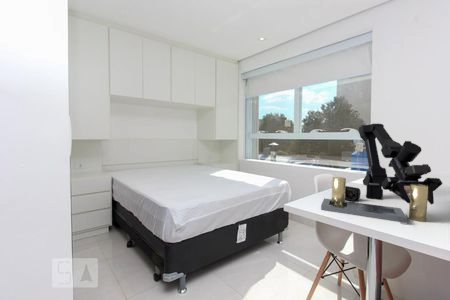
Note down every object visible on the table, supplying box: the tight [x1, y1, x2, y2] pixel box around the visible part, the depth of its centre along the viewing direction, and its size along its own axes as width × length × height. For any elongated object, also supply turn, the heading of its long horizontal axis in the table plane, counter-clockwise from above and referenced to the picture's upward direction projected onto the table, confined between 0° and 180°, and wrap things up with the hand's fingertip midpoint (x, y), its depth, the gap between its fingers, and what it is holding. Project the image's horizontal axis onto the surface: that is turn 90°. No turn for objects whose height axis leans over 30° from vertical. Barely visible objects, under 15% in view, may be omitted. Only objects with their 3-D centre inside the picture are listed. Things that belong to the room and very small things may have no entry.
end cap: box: [345, 185, 362, 202], centre depth 110 cm, size 10×7×7 cm
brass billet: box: [408, 184, 428, 223], centre depth 83 cm, size 5×5×13 cm
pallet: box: [320, 198, 408, 225], centre depth 91 cm, size 28×12×2 cm, turn 61°
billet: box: [331, 176, 347, 207], centre depth 94 cm, size 5×5×13 cm
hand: (421, 203), depth 82 cm, fingers open, 7 cm apart
